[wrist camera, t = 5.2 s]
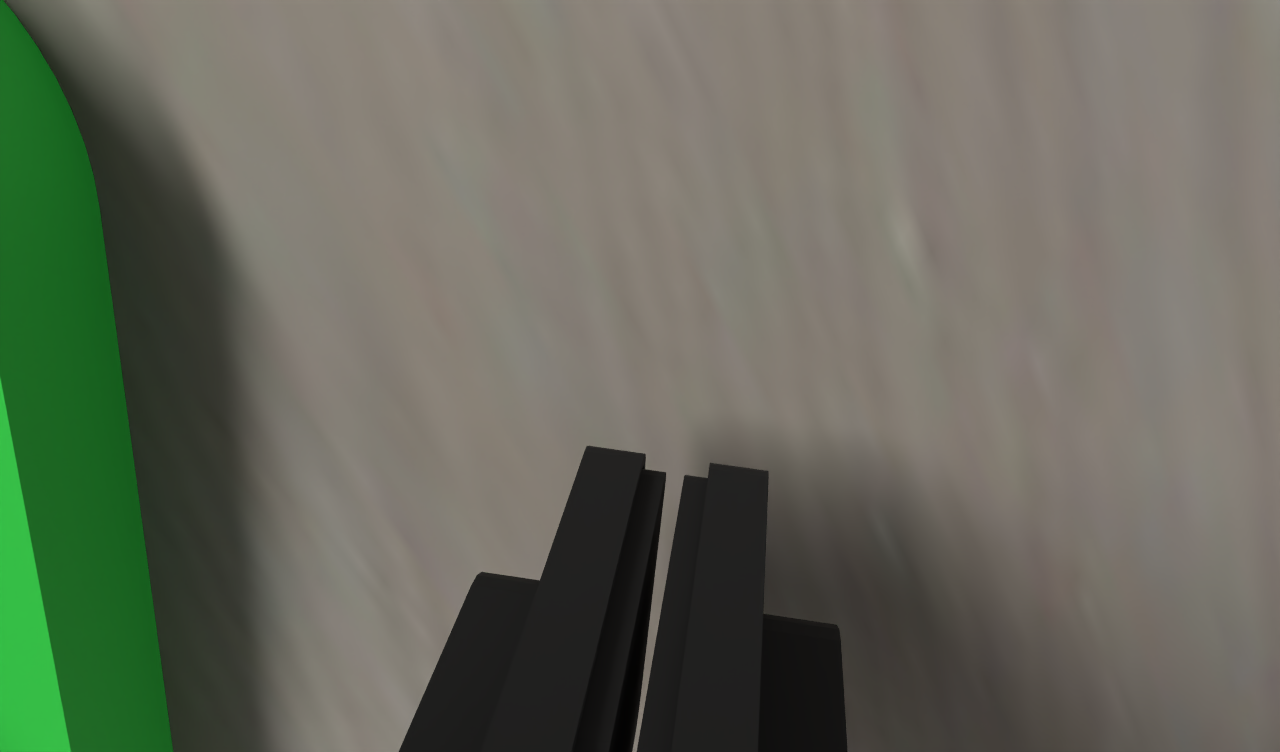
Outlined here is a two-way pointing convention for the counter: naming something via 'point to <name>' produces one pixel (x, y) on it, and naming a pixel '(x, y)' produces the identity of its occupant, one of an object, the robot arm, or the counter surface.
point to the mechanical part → (65, 448)
